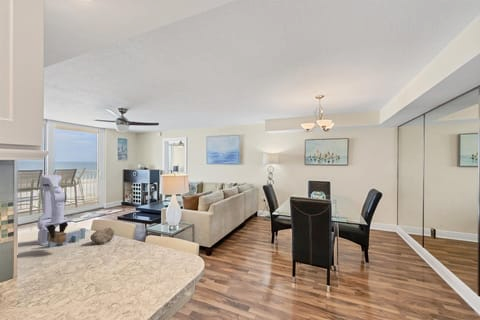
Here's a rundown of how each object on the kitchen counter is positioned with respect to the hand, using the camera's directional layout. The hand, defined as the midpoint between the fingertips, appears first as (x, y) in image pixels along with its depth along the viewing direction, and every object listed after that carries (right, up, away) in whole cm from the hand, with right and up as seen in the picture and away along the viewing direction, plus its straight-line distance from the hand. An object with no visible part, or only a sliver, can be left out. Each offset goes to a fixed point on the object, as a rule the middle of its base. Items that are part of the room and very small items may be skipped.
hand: (56, 237), depth 122 cm
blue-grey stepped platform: (-4, -9, +14) cm, 17 cm away
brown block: (0, -3, 0) cm, 3 cm away
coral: (+17, -10, +16) cm, 25 cm away
